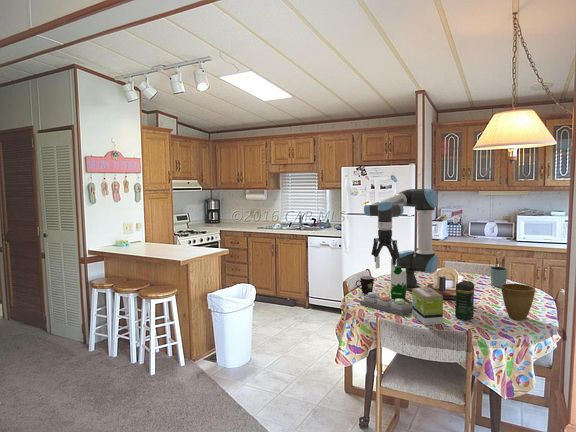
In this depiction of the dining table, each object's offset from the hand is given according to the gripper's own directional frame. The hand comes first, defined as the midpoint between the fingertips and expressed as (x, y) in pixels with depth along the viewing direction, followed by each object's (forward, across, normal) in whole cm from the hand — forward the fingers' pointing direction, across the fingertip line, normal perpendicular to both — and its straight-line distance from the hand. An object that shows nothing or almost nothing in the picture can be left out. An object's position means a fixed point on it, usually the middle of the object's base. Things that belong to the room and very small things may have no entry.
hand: (385, 269), depth 219 cm
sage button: (+18, +9, 0) cm, 20 cm away
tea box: (+22, +26, -2) cm, 34 cm away
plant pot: (+22, +57, +32) cm, 69 cm away
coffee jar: (+22, +38, +15) cm, 46 cm away
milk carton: (+22, -4, +19) cm, 29 cm away
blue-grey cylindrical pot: (+22, +27, +87) cm, 93 cm away
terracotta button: (+18, 0, 0) cm, 18 cm away
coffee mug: (+22, -26, +15) cm, 37 cm away
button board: (+22, 0, 0) cm, 22 cm away
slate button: (+18, -9, 0) cm, 20 cm away
